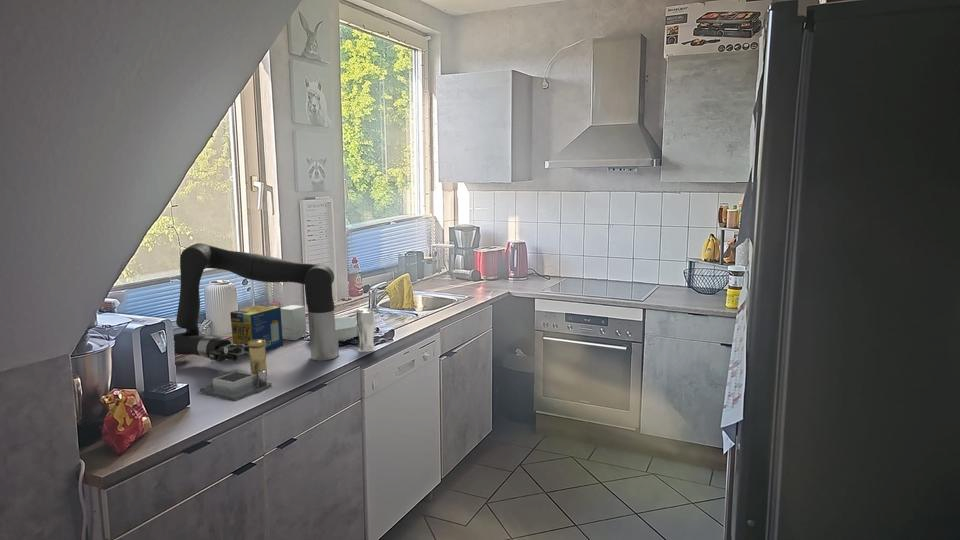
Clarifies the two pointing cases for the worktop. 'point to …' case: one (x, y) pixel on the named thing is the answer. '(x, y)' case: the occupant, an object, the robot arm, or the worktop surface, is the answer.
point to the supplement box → (293, 322)
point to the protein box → (257, 325)
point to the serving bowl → (346, 328)
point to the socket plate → (237, 385)
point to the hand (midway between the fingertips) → (247, 354)
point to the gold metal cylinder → (257, 356)
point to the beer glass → (365, 329)
